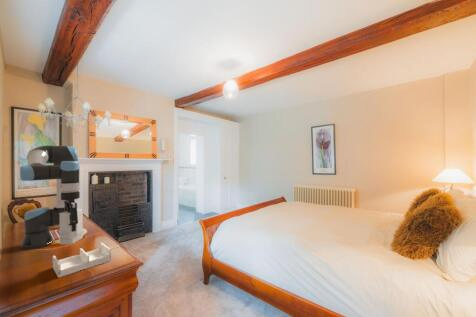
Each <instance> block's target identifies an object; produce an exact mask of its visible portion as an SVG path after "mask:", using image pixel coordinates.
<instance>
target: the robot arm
mask: <svg viewBox="0 0 476 317" xmlns="http://www.w3.org/2000/svg"><path fill="white" fill-rule="evenodd" d="M78 157H79V156H78V151H77V148H76V147H75V146H70V145H40V146H37V147H35V148H33V149H31V150H30V151H28V153H27V155H26V160H27V165H22V166H20V168H19V169H20V170H19V178H20V181H23V182H25V181H26V182H28V181H29V182H32V181H33V182H34V181H46V180H48V181H49V180H50V181H51V180H56V203H55V204H54V205H53V208H50V207H49V206H44V207H43V206H42V207H38V208H33V209H30V210H28V211H27V212H25V213H24V218H23V219H24V236H23V239H22V241H21V244H20V250H25V251H26V250H35V249H39V248H43V247H46V246H45V245H46V244H47V243H49V242H51V241H52V240H53V241H54V238H53V236H52V233H51V231H50V227H57V226H60V214H59V213H62V212H65V211H67V212H69V213H71V215H70V224H69V225H70V239H71V238H75V237H77V223H78V216H77V209H79V207H78V203H77V202H76V201H75V200H78V199H80V192H81V191H80V190H81V186H80V185H81V184H80V183H81V182H80V162H79V158H78ZM73 221H75V222H73Z"/></svg>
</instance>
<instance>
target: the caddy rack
mask: <svg viewBox="0 0 476 317" xmlns="http://www.w3.org/2000/svg"><path fill="white" fill-rule="evenodd" d="M111 261H112V249H111V247H109V246H107V245H106V244H105V243H104V242H100V247H99V248H95V249H92V250H90V251H89V250H88V251H85V250H84V248H83V247H82V248H80V247H79V254H76V255H71V256H69V257H65V258H61V259H58V258H57V256H56V255H52V269H53V270H54V272H55V274H56V276H57V277H58V278H62V277H65V276H68V275H71V274H74V273H77V272H80V270H81V271H83V269H84V270H86V269H90V268H92V267H95V265H96V266H98V265H101V264H105V263H109V262H111Z"/></svg>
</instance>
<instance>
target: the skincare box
mask: <svg viewBox="0 0 476 317" xmlns="http://www.w3.org/2000/svg"><path fill="white" fill-rule="evenodd" d="M83 210H84V209H83V208H78V209H77V216H78V223H77V237H75V238H71V239H70V225H69V224H70V215H71V213H69V212H67V211H65V212H62V213H59V214H60V225H59V245H74V243H76V242H77V243H78V242H79V241H80V240H82V239H83V237H84V235H83V233H84V230H83V225H84V221H83V220H84V219H83V218H84V216H83ZM73 222H75V221H73Z"/></svg>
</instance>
